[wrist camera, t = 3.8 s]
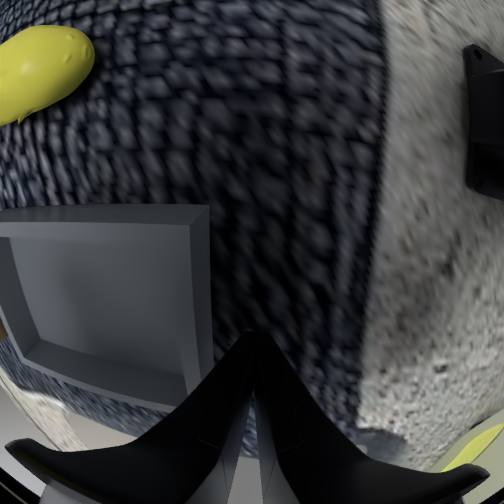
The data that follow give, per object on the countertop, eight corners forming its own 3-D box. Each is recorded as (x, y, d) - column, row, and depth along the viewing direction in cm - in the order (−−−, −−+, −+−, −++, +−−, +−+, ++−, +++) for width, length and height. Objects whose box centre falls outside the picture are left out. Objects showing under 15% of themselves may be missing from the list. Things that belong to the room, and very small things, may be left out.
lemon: (101, 118, 8) (28, 115, 4) (-4, 131, 8) (-57, 140, 4) (123, 22, 7) (66, -14, 3) (9, 59, 6) (-41, 55, 3)
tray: (209, 205, 9) (189, 225, 7) (214, 378, 12) (206, 418, 10) (7, 208, 9) (-27, 222, 7) (43, 338, 12) (22, 362, 10)
